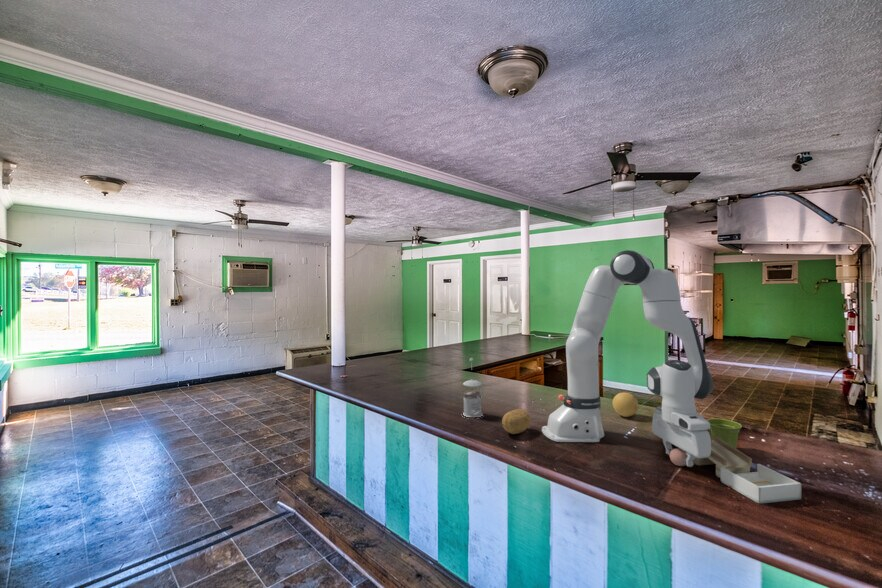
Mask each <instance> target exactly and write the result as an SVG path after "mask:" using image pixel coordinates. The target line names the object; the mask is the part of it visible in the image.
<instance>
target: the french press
mask: <svg viewBox="0 0 882 588" xmlns="http://www.w3.org/2000/svg"><path fill="white" fill-rule="evenodd" d="M474 361H475V360H474V358H473V357H470V358H469V362H471V363H470V365H471V369H473V362H474ZM462 385H463V387H467V388H477V389H478V391H477V390H466V391H464V395H463V412H462V413H463V415H464V416H466V417H481V416H483V414H484V413H483V412H482V399H483V395H484V394H483V387H482V383H481V382H480V381H478V380H476V379H469V380H466V381H464V382H463V383H462ZM480 389H481V391H480ZM483 417H484V416H483ZM481 418H482V417H481Z"/></svg>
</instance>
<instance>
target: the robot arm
mask: <svg viewBox="0 0 882 588" xmlns="http://www.w3.org/2000/svg"><path fill="white" fill-rule="evenodd" d="M678 283H679V282H678V279H677V277H676V274H675V273H674V272H673V271H671V270H669V269H664V268H656V269H655V266H654V263H653V261H652V260H651V259H650V258H648V257H647V256H646V255H644V254H642V253H639V252H637V251H634V250H623V251H619V252H618V253H616V254H615V255H614V256H613V257H612V259H611V261H610V264H609V265H606V264H604V265H603V264H601V265H598V266H596V267H594V268H593V269H592V271H591V273H590V275H589V277H588V278H587V281H586V284H585V286H584V289H583V291H582V295H581V297H580V300H579V304H578V306H577V309H576V313H575V316H574V320H573V322H572V326H571V329H570V333H569V335H568V337H567V339H566V342H565V357H566V373H567V393H566V395H563V394H559V395H558V400H560V401H562V402H563V403H562V404H561V405H560V406H559V407H558V408H557V409H555V410H554V411H553V412H551V413H550V414H549V416H548V418H547V419H548V420H547V425H543V426H541V427H542V428H541V432H542V434H543V435H544V436H545V437H546V438H548V439H550V440H551V441H553V442H558V443H599V442H600V441H601V439H602V438H604V437H605V436H606V435H605V431H604V429H603V428H604V427H603V425H602V424H603V423H602V418H601V407H602V406H601V405H602V404H601V395H600V383H599V382H600V377H599V370H600V369H599V343H600V342H601V338H602V336H603V332H604V330H605V327H606V325H607V321H608V319H609V317H610V316H609V315H610V313H611V310H612V307H613V305H614V302H615V299H616V296H617V293H618V290H619V288H620V287H621V286H638V287H639V288H640V289H641V294H642V295H641V296H642V311H643V317H644V318H645V320H646V321H647V323H648V324H650V325H651V326H653V327H655V328H656V329H659V330H661V331H664V332H668V333H669V334H673V335H675V336H676V337H678V338H679V339H680V341H681V342H682V345H683V348H684V353H685V356H686V359H687V361H683V360H680V359H668V360H666V361H664V362H663V364H662V365H660V366H655V367H651V368H650V369H649V370H648V372H647V373H646V386H647V389H648V390H649V391H650V392H651V394H654V395H655V396H658V397H662V400H661V406H657V407H655V408H654V413H653V414H652V423H651V430H652V433H653V435H654V436H657V437H658V438H660V439H662V443H663V446H664V448H665V454H667V455H668V456H670V452H671V451H672V450H673V449H674V448H673V446H675V447H677V448H679V449H682V450H684V451H685V452H686V455H688V457H687V459H684V464H685V466H687V467H689V468H692V467H693V466H694V463H693V461H694V459H695V458H696V457H697V458H708V457H709V456H710V455H711V440H712V438H711V433H710V432H709V431H708V430H710V423H709V422H708V421H707V420H708V419H706V418H704V417H703V416H702V415H701V414H700V413H699V412H698V411H697V410H696V403H695V399H697V400H704V399H705V398H707V397H708V396H710V394H711V393H712V392H713V390H714V381H713V378H712V375H711V373H710V370H709V368H708V364H707V361H706V358H705V355H704V351H703V346H702V343H701V340H700V337H699V332H698V330H697V327H696V326H697V325H696V324H695V322H694V320H693V319H692V318H690V317H689V316H687V314H686V313H685V311H684V310H683V307H682V301H681V293H680V287H679V284H678ZM672 445H673V446H672Z"/></svg>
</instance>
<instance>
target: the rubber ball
mask: <svg viewBox="0 0 882 588" xmlns="http://www.w3.org/2000/svg"><path fill="white" fill-rule="evenodd" d="M672 449H673V450H672V451H671V452H670V455H669V458H670V461H671V463H673V464H674V466H678V467H684V466H686V465H685V464H684V459H687V457H688V455H686V451H684V450H682V449H680V448H679V447H677V448H672Z"/></svg>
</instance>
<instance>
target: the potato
mask: <svg viewBox="0 0 882 588" xmlns="http://www.w3.org/2000/svg"><path fill="white" fill-rule="evenodd" d="M530 424H531V417H530V414H529V413H528V412H527V411H526V410H525V409H523V408H516V409H513V410H510V411H508V412H506V413H505V414H504V415H503V417H502V420H501V425H502V427H503V429H504V430H505V431H506V432H507V433H509V434H510V435H516V434H520V433H523V432H525V431H526V430H527V429H528V428H529V427H530V426H531V425H530Z"/></svg>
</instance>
